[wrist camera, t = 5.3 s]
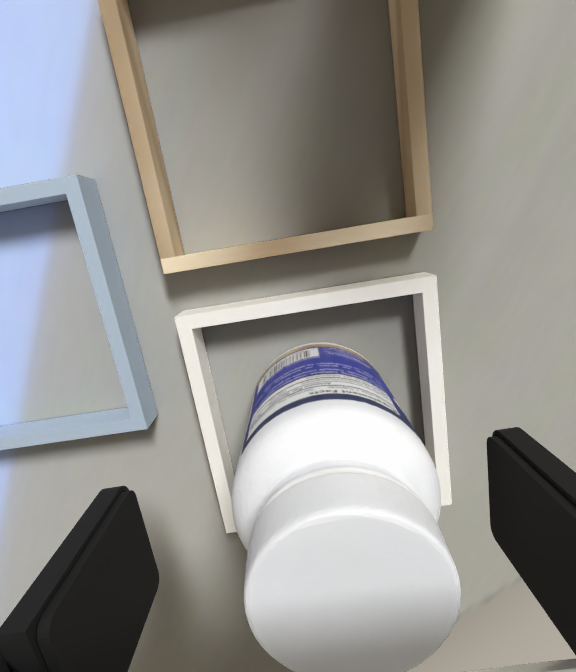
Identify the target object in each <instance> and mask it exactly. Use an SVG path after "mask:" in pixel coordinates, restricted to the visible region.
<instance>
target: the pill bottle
mask: <svg viewBox="0 0 576 672" xmlns="http://www.w3.org/2000/svg"><path fill="white" fill-rule="evenodd" d="M440 509H441V492H440V483H439V478H438V475H437V471H436V468H435V465H434V463H433V461H432V459H431V457H430V455H429V453H428V451H427V449H426V448H425V446H424V444H423V442H422V441H421V439H420V438H419V436H418V435H417V433H416V431H415V430H414V428H413V427H412V425H411V424H410V422H409V421H408V419H407V417H406V416H405V414H404V413H403V411H402V409H401V408H400V406H399V405H398V403H397V402H396V400H395V399H394V397H393V395H392V394H391V392H390V391H389V389H388V387H387V386H386V384H385V383H384V381H383V380H382V378H381V376H380V375H379V373H378V372H377V371H376V369H375V368H374V367H373V365H372V364H371V363H370V362H369V361H368V360H367V359H365V358H364V357H363V356H362V355H360V354H359V353H357V352H355V351H354V350H352V349H350V348H347V347H345V346H342V345H338V344H334V343H326V342H316V343H308V344H303V345H300V346H297V347H294V348H292V349H290V350H288V351H286V352H284V353H283V354H281V355H280V356H278V357H277V358H276V359H275V360H273V361H272V362H271V363H270V364H269V366H268V367H267V368H266V369H265V371H264V372H263V374H262V375H261V377H260V379H259V381H258V383H257V386H256V389H255V392H254V396H253V401H252V406H251V411H250V416H249V420H248V425H247V429H246V433H245V437H244V441H243V445H242V449H241V453H240V457H239V461H238V464H237V468H236V473H235V477H234V482H233V488H232V513H233V519H234V523H235V527H236V530H237V533H238V535H239V538H240V540H241V542H242V544H243V545H244V547H245V549H246V550H247V552H248V553H247V562H246V571H245V581H244V606H245V613H246V617H247V620H248V623H249V625H250V628H251V630H252V632H253V634H254V636H255V638H256V639H257V641H258V642H259V644H260V645H261V646H262V647H263V648H264V650H265V651H266V652H267V653H268V654H269V655H270V656H271V657H273V658H274V659H275V660H276V661H278V662H279V663H281V664H282V665H284V666H285V667H287V668H288V669H290V670H292V671H294V672H406V671H408V670H410V669H412V668H414V667H416V666H417V665H419V664H420V663H422V662H423V661H424V660H426V659H427V658H428V657H429V656H431V655H432V654H433V653H434V652H435V651H436V650H437V649H438V648H439V647H440V646H441V645H442V643H443V642H444V641H445V640H446V638H447V637H448V636H449V634H450V632H451V630H452V628H453V626H454V624H455V622H456V619H457V616H458V613H459V609H460V600H461V588H460V582H459V576H458V572H457V569H456V566H455V564H454V561H453V559H452V556H451V554H450V552H449V550H448V547H447V545H446V543H445V541H444V538H443V536H442V534H441V531H440V529H439V527H438V525H437V523H438V519H439V514H440Z"/></svg>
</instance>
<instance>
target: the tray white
mask: <svg viewBox="0 0 576 672" xmlns="http://www.w3.org/2000/svg"><path fill="white" fill-rule="evenodd" d="M410 294H413V304H414V316H415V328H416V340H417V352H418V364H419V376H420V388H421V400H422V412H423V424H424V436H425V448H426V449H427V451H428V453H429V455H430V457H431V459H432V461H433V463H434V465H435V468H436V471H437V475H438V478H439V483H440V492H441V506H442V505H450V504H452V499H451V484H450V469H449V455H448V440H447V425H446V410H445V395H444V380H443V365H442V350H441V336H440V321H439V306H438V291H437V276H436V275H433V274H430V273H427V272H421V273H415V274H409V275H403V276H397V277H390V278H384V279H378V280H372V281H365V282H359V283H353V284H347V285H340V286H334V287H328V288H322V289H315V290H309V291H303V292H297V293H290V294H284V295H278V296H272V297H265V298H259V299H253V300H247V301H240V302H234V303H228V304H222V305H215V306H209V307H203V308H197V309H191V310H184V311H182V312H181V313H180V314H178V315H177V316H175V317H174V318H175V322H176V326H177V330H178V334H179V338H180V343H181V347H182V351H183V355H184V359H185V363H186V367H187V372H188V376H189V380H190V384H191V388H192V392H193V397H194V401H195V405H196V409H197V413H198V417H199V421H200V426H201V430H202V434H203V438H204V442H205V446H206V451H207V455H208V459H209V463H210V467H211V471H212V475H213V480H214V484H215V488H216V492H217V496H218V500H219V504H220V509H221V513H222V517H223V521H224V525H225V529H226V533H232V532H237V530H236V527H235V523H234V519H233V513H232V488H233V482H234V477H235V476H234V472H233V468H232V463H231V459H230V454H229V450H228V445H227V441H226V436H225V432H224V428H223V423H222V419H221V414H220V410H219V405H218V401H217V396H216V392H215V388H214V383H213V379H212V374H211V370H210V365H209V361H208V356H207V352H206V348H205V343H204V339H203V334H202V330H201V327H207V326H213V325H220V324H226V323H232V322H239V321H245V320H251V319H258V318H264V317H270V316H277V315H283V314H289V313H296V312H302V311H309V310H315V309H321V308H328V307H334V306H340V305H347V304H353V303H359V302H366V301H372V300H378V299H385V298H391V297H397V296H404V295H410Z"/></svg>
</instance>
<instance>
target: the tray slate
mask: <svg viewBox="0 0 576 672" xmlns="http://www.w3.org/2000/svg"><path fill="white" fill-rule="evenodd" d="M65 200H68V202H69V206H70V209H71V213H72V216H73V220H74V223H75V227H76V230H77V234H78V237H79V241H80V244H81V247H82V251H83V254H84V258H85V261H86V265H87V268H88V272H89V275H90V279H91V282H92V286H93V289H94V293H95V296H96V299H97V303H98V306H99V310H100V313H101V317H102V320H103V324H104V327H105V331H106V334H107V338H108V341H109V345H110V348H111V351H112V355H113V358H114V362H115V365H116V369H117V372H118V376H119V379H120V383H121V386H122V390H123V393H124V396H125V400H126V403H127V408H120V409H113V410H106V411H100V412H93V413H86V414H79V415H73V416H66V417H59V418H52V419H46V420H39V421H32V422H25V423H19V424H12V425H5V426H0V450H6V449H12V448H19V447H26V446H33V445H40V444H47V443H54V442H61V441H68V440H75V439H82V438H89V437H95V436H102V435H109V434H116V433H123V432H130V431H137V430H144V429H148V427H149V426H150V425H151V423H152V422H153V421H154V419H155V418H156V417H157V415H158V413H157V409H156V405H155V402H154V398H153V394H152V390H151V387H150V383H149V379H148V376H147V372H146V368H145V364H144V361H143V357H142V353H141V349H140V346H139V342H138V338H137V335H136V331H135V327H134V323H133V320H132V316H131V312H130V309H129V305H128V301H127V297H126V294H125V290H124V286H123V283H122V279H121V275H120V271H119V268H118V264H117V260H116V256H115V253H114V249H113V245H112V242H111V238H110V234H109V230H108V227H107V223H106V219H105V216H104V212H103V208H102V204H101V201H100V197H99V193H98V189H97V186H96V182H95V179H92V178H88V177H84V176H80V175H77V174H76V175H70V176H65V177H59V178H54V179H48V180H43V181H37V182H32V183H26V184H21V185H15V186H10V187H4V188H0V212H3V211H9V210H15V209H20V208H26V207H31V206H37V205H43V204H48V203H54V202H59V201H65Z"/></svg>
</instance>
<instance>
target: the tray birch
mask: <svg viewBox="0 0 576 672" xmlns="http://www.w3.org/2000/svg"><path fill="white" fill-rule="evenodd" d="M98 2H99V6H100V10H101V14H102V19H103V23H104V27H105V31H106V35H107V39H108V44H109V48H110V52H111V56H112V60H113V64H114V68H115V73H116V77H117V81H118V85H119V89H120V93H121V98H122V102H123V106H124V110H125V114H126V118H127V122H128V127H129V131H130V135H131V139H132V143H133V147H134V152H135V156H136V160H137V164H138V168H139V172H140V176H141V181H142V185H143V189H144V193H145V197H146V201H147V205H148V210H149V214H150V218H151V222H152V226H153V230H154V235H155V239H156V243H157V247H158V251H159V255H160V259H161V264H162V268H163V272H164V274H168V273H174V272H180V271H186V270H192V269H198V268H204V267H210V266H216V265H222V264H228V263H234V262H240V261H246V260H252V259H258V258H264V257H270V256H276V255H282V254H288V253H295V252H301V251H307V250H313V249H319V248H325V247H331V246H337V245H343V244H349V243H355V242H361V241H367V240H373V239H379V238H385V237H391V236H397V235H403V234H409V233H415V232H421V231H427V230H433V217H432V202H431V187H430V172H429V157H428V142H427V127H426V113H425V98H424V83H423V68H422V53H421V38H420V23H419V8H418V0H388V5H389V17H390V29H391V41H392V52H393V64H394V76H395V88H396V100H397V112H398V124H399V136H400V148H401V160H402V172H403V184H404V196H405V208H406V218H401V219H395V220H389V221H383V222H377V223H371V224H365V225H359V226H353V227H347V228H341V229H335V230H329V231H323V232H317V233H311V234H305V235H299V236H294V237H288V238H282V239H276V240H270V241H264V242H258V243H252V244H246V245H240V246H234V247H228V248H222V249H216V250H210V251H204V252H198V253H192V254H186V255H185V254H184V250H183V245H182V241H181V236H180V232H179V227H178V223H177V219H176V214H175V210H174V205H173V201H172V196H171V192H170V187H169V183H168V179H167V174H166V170H165V165H164V161H163V156H162V152H161V147H160V143H159V139H158V134H157V130H156V125H155V121H154V116H153V112H152V107H151V103H150V99H149V94H148V90H147V85H146V81H145V76H144V72H143V67H142V63H141V58H140V54H139V50H138V45H137V41H136V36H135V32H134V27H133V23H132V18H131V14H130V10H129V5H128V1H127V0H98Z"/></svg>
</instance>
